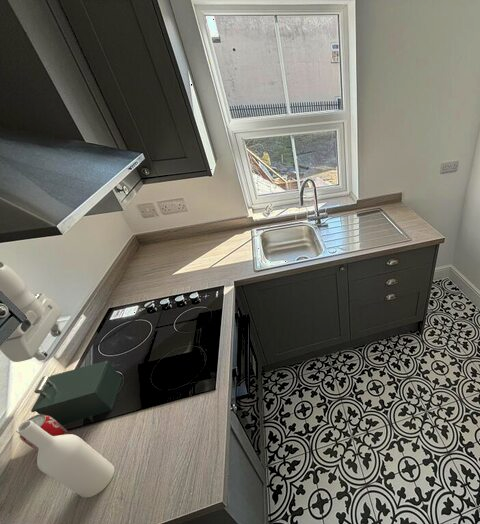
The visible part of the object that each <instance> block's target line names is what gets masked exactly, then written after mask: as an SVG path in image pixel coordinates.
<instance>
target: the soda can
mask: <svg viewBox="0 0 480 524" xmlns="http://www.w3.org/2000/svg"><path fill="white" fill-rule="evenodd" d="M28 420H30V421H32V422H34V423H35V424H36V425H38V426H39V427H40V428H42V429H43V430H44V431H46V432H47V433H48V434H50V435H51V436H59V435H66V434H71V432H70V431H69V430H68V429H67V428H66V427H65V426H64V425H63V426H62V425H61V424H60V423H58V422H57V421H56V420H55V419H53V418H52V417H50V416H45V415H40V414H36V415H34V416H31V417H29V418H28V419H27V420H26V421H28ZM18 435H19V438H20V440H21V441H22V442H23V443H25V444H26V445H28V446H29V447H30V448H32V449H33V450H35V451H36V452H38V451H39V448H38V447H37V446H35V445H34V444H33V443H31V442H30V441H29V440H27V439H26V438H24V437H23V436H21V435H20V434H19V433H18Z"/></svg>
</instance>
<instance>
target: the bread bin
mask: <svg viewBox="0 0 480 524" xmlns="http://www.w3.org/2000/svg"><path fill="white" fill-rule="evenodd" d="M122 380H123V377H121V375H120V374H119V373H118V372H117V370H115V368H114V366H112V364H111V363H110V362H109V361H108V364H107V367H106V369H105V372H104V375H103V377H102V380H101V382H100V385H99V387H98V390H97V393H96V394H93V395H90V396H87V397H83V398H80V399H76V400H73V401H69V402H66V403H63V404H59V405H56V406H52V407H49V408H45V409H42V410H39V411H35V413H37V415H45V416H50V417H52V418H53V419H55V420H56V421H57V422H58V423H60V424H61V425H62V426H63V427H64V426H66V425H69V424H72V423H76V422H78V421H83V420H85V419H89V418H91V417H95V416H98V415H102V414H105V413H108V412H112V411H113V408H114V405H115V402H116V399H117V396H118V393H119V390H120V387H121V384H122Z"/></svg>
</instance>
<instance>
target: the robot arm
mask: <svg viewBox="0 0 480 524" xmlns="http://www.w3.org/2000/svg"><path fill="white" fill-rule="evenodd" d="M0 291H2V292H3V293H4V295H5V296H6V297H8V298H9V299H10V300H11V301H12V302H13V303H14V304H15V305H16V306H17V307H18V308H19V309H20V310H21V311H22V312H23V313H24V314H25V315H26V317H27V319H26V320H25V321H24V322H23V323H22V324H20V325H19V327H18V328H17V329H16V330H15V331H14V332H13V334H12V335H11V336H10V337H9V338H8V339H7V340H6V341H5V342H4V343H3V344H2V345H1V346H0V352H1V353H2V354H3V355H4V356H5V357H6V358H7V359H9V360H10V361H11V362H13V363H21V362H25V361H28V360H31V359H33V358H35V359H36V360H37V361H38V362H40V361H45V360H46V359H47V358H48V353H47V352H46V351H41V349H40V347H41V346H42V344H43V343H44V341H45V340H46V338H47V337H48V335H49V333H50V335H51V336H52V337H53V338H57V337H60V336H61V335H62V333H63V331H62V330H61V329H60V325H59V324H60V323H59V322H58V319H60V316H61V315H62V309H61V308H60V306H59V305H58V304H57V303H56V302H55V301H54V300H53V299H51V298H50V297H47V296H46V294H45V293H41V292H40V293H36V294H34V293H33V292H30V290H28V288H27V285H26V283H25V282H24V280H23V279H22V278H21V277H20V276H19V275H18V274H17V272H15V271H14V270H13V269H12V268H11V267H10V266H9V265H7V264H5V263H3V262H2V261H0ZM40 351H41V352H40Z"/></svg>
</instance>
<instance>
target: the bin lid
mask: <svg viewBox="0 0 480 524" xmlns="http://www.w3.org/2000/svg"><path fill="white" fill-rule="evenodd" d="M108 362H109V360H104V361H100V362H97V363H93V364H90V365H86V366H82V367H78V368H75V369H71V370H67V371H63V372H60V373H56V374H52V375H50V376H49V375H44V376H42V377H41V379H40V380H39V382H38V384H37V386H36V388H35V389H34V391H33V393H34V394H39V395H38V397H37V399H36V401H35V403H34V404H33V406H32V408H31V409H30V412H31V413H36V411H39V410H42V409H45V408H49V407H52V406H56V405H59V404H63V403H66V402H69V401H73V400H76V399H80V398H83V397H87V396H90V395H93V394H96V393H97V390H98V387H99V385H100V382H101V380H102V377H103V375H104V372H105V369H106V367H107V364H108Z"/></svg>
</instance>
